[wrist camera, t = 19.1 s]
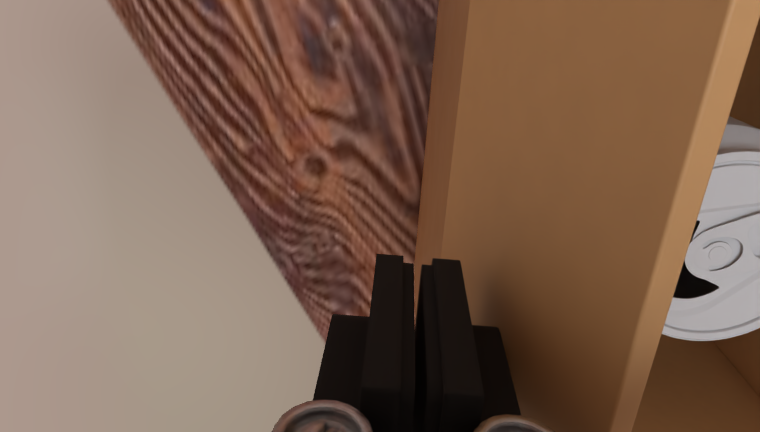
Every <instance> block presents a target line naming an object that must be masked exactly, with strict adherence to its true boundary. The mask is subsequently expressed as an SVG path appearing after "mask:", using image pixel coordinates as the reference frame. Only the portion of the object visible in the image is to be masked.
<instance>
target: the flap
mask: <svg viewBox="0 0 760 432" xmlns="http://www.w3.org/2000/svg"><path fill="white" fill-rule="evenodd" d="M759 18H760V0H470V5H469V14H468V23H467V32H466V40H465V49H464V58H463V67H462V75H461V84H460V93H459V102H458V110H457V119H456V128H455V137H454V145H453V154H452V163H451V172H450V180H449V189H448V198H447V207H446V215H445V224H444V233H443V242H442V251H441V259H451V260H460V262H461V267H462V272H463V278H464V284H465V289H466V295H467V300H468V306H469V312H470V317H471V323H472V325H480V326H493V327H498V328H499V331H500V333H501V337H502V341H503V345H504V349H505V353H506V357H507V361H508V365H509V369H510V373H511V377H512V381H513V385H514V388H515V392H516V396H517V400H518V404H519V408H520V412H521V416H525V417H528V418H531V419H535V420H537V421H539V422H541V423H543V424H545V425H546V426H548V427H550V428H551V429H553V430H554V431H555V432H631V431H632V428H633V425H634V421H635V418H636V415H637V412H638V408H639V405H640V402H641V399H642V395H643V392H644V389H645V386H646V383H647V379H648V376H649V373H650V370H651V366H652V363H653V360H654V357H655V353H656V350H657V347H658V344H659V341H660V337H661V334H662V331H663V328H664V324H665V321H666V318H667V315H668V312H669V308H670V305H671V302H672V299H673V295H674V292H675V289H676V286H677V282H678V279H679V276H680V273H681V270H682V266H683V263H684V260H685V257H686V253H687V250H688V247H689V244H690V240H691V237H692V234H693V231H694V228H695V224H696V221H697V218H698V215H699V211H700V208H701V205H702V202H703V198H704V195H705V192H706V189H707V186H708V182H709V179H710V176H711V173H712V169H713V166H714V163H715V160H716V156H717V153H718V150H719V147H720V144H721V140H722V137H723V134H724V131H725V127H726V124H727V121H728V118H729V115H730V111H731V108H732V105H733V102H734V98H735V95H736V92H737V89H738V85H739V82H740V79H741V76H742V73H743V69H744V66H745V63H746V60H747V56H748V53H749V50H750V47H751V43H752V40H753V37H754V34H755V31H756V27H757V24H758V21H759Z"/></svg>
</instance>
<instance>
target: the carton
mask: <svg viewBox="0 0 760 432" xmlns="http://www.w3.org/2000/svg"><path fill="white" fill-rule="evenodd" d="M469 5H470V0H439V5H438V16H437V27H436V37H435V48H434V59H433V69H432V80H431V91H430V101H429V112H428V123H427V133H426V144H425V155H424V166H423V176H422V187H421V198H420V208H419V219H418V230H417V240H416V251H415V262H414V272H415V321H416V314H417V304H418V294H419V284H420V274H421V266H422V264H424V265H431V264H432V259H433V258H438V259H441V251H442V242H443V233H444V224H445V215H446V207H447V198H448V189H449V180H450V172H451V163H452V154H453V145H454V137H455V128H456V119H457V110H458V102H459V93H460V84H461V75H462V67H463V58H464V49H465V40H466V32H467V23H468V14H469ZM729 116H730V117H733V118H735V119H737V120H740V121H742V122H744V123H747V124H749V125H751V126H754V127H756V128H758V129H760V18H759V21H758V24H757V27H756V31H755V34H754V37H753V40H752V43H751V47H750V50H749V53H748V56H747V60H746V63H745V66H744V69H743V73H742V76H741V79H740V82H739V85H738V89H737V92H736V95H735V98H734V102H733V105H732V108H731V111H730V115H729ZM631 432H760V328H758V329H756V330H753V331H751V332H748V333H746V334H743V335H739V336H735V337H731V338H727V339H721V340H712V341H691V340H683V339H678V338H673V337H670V336H667V335H664V334H661V337H660V341H659V344H658V347H657V350H656V353H655V357H654V360H653V363H652V366H651V370H650V373H649V376H648V379H647V383H646V386H645V389H644V392H643V395H642V399H641V402H640V405H639V408H638V412H637V415H636V418H635V421H634V425H633V428H632V431H631Z"/></svg>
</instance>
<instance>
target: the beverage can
mask: <svg viewBox="0 0 760 432" xmlns="http://www.w3.org/2000/svg"><path fill="white" fill-rule="evenodd" d="M758 328H760V129H758V128H756V127H754V126H751V125H749V124H747V123H744V122H742V121H740V120H737V119H735V118H733V117H730V116H729V118H728V121H727V124H726V127H725V131H724V134H723V137H722V140H721V144H720V147H719V150H718V153H717V156H716V160H715V163H714V166H713V169H712V173H711V176H710V179H709V182H708V186H707V189H706V192H705V195H704V198H703V202H702V205H701V208H700V211H699V215H698V218H697V221H696V224H695V228H694V231H693V234H692V237H691V240H690V244H689V247H688V250H687V253H686V257H685V260H684V263H683V266H682V270H681V273H680V276H679V279H678V282H677V286H676V289H675V292H674V295H673V299H672V302H671V305H670V308H669V312H668V315H667V318H666V321H665V324H664V328H663V331H662V334H664V335H667V336H670V337H673V338H678V339H683V340H691V341H712V340H721V339H727V338H731V337H735V336H739V335H743V334H746V333H748V332H751V331H753V330H756V329H758Z"/></svg>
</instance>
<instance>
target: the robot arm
mask: <svg viewBox="0 0 760 432" xmlns="http://www.w3.org/2000/svg"><path fill="white" fill-rule="evenodd" d="M272 432H555V431H554V430H553V429H551V428H550V427H548V426H546V425H545V424H543V423H541V422H539V421H537V420H535V419H531V418H528V417H525V416H521V412H520V408H519V404H518V400H517V396H516V392H515V388H514V385H513V381H512V377H511V373H510V369H509V365H508V361H507V357H506V353H505V349H504V345H503V341H502V337H501V333H500V331H499V328H498V327H493V326H480V325H472V323H471V317H470V312H469V306H468V300H467V295H466V289H465V284H464V278H463V272H462V267H461V262H460V260H451V259H438V258H433V259H432V264H431V265H424V264H422V266H421V274H420V284H419V294H418V304H417V314H416V324H415V325H414V264H410V263H403V256H398V255H384V254H377V256H376V265H375V274H374V282H373V291H372V299H371V308H370V317H363V316H350V315H338V314H333V315H332V318H331V323H330V327H329V331H328V336H327V340H326V345H325V350H324V353H323V358H322V362H321V367H320V371H319V376H318V380H317V384H316V389H315V393H314V398H313V401H308V402H305V403H302V404H300V405H297V406H295V407H293V408H292V409H290V410H289V411H287V412H286V413H285V414H283V415H282V417H281V418H280V419H279V421H278V422H277V423H276V425H275V426H274V428H273V431H272Z"/></svg>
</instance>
